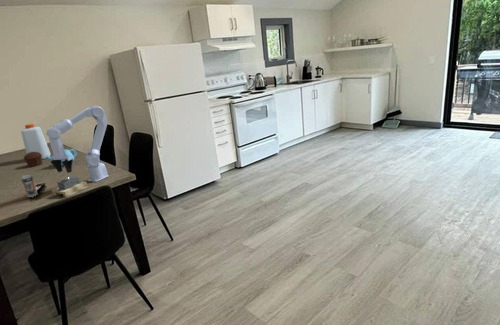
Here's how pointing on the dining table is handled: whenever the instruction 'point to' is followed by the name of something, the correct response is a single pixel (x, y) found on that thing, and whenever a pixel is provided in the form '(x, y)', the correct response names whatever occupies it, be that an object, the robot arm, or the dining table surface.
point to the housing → (68, 183)
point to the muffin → (33, 159)
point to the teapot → (68, 153)
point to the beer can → (29, 186)
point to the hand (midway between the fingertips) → (65, 171)
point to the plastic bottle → (35, 140)
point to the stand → (70, 189)
